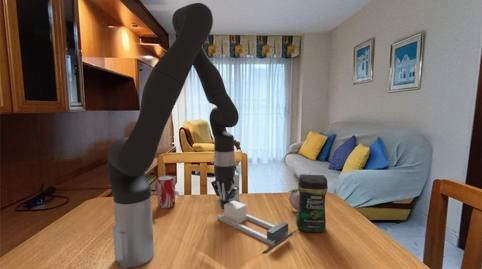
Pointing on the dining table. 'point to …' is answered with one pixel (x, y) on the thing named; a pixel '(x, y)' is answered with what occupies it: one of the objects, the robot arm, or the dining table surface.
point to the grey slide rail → (273, 234)
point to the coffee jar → (311, 203)
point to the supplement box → (236, 183)
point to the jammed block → (235, 211)
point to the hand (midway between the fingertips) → (224, 208)
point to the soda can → (166, 191)
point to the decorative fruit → (294, 198)
